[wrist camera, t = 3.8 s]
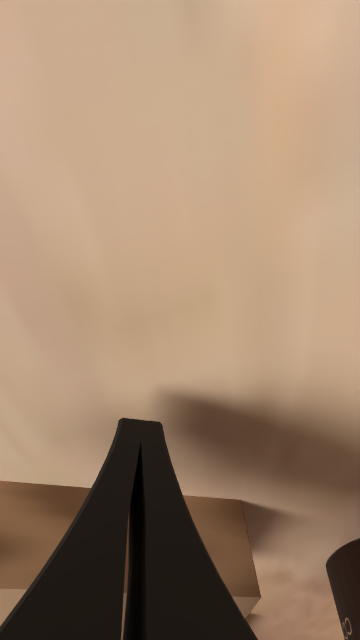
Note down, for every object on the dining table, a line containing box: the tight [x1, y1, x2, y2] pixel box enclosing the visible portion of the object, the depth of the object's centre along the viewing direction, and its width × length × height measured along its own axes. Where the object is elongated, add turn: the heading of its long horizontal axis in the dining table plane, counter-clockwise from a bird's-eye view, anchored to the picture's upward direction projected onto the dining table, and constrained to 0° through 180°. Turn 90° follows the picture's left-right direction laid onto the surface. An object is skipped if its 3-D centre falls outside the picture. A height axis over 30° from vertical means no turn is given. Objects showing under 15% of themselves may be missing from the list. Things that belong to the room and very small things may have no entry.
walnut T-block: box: [0, 481, 261, 640], centre depth 17 cm, size 12×11×4 cm
